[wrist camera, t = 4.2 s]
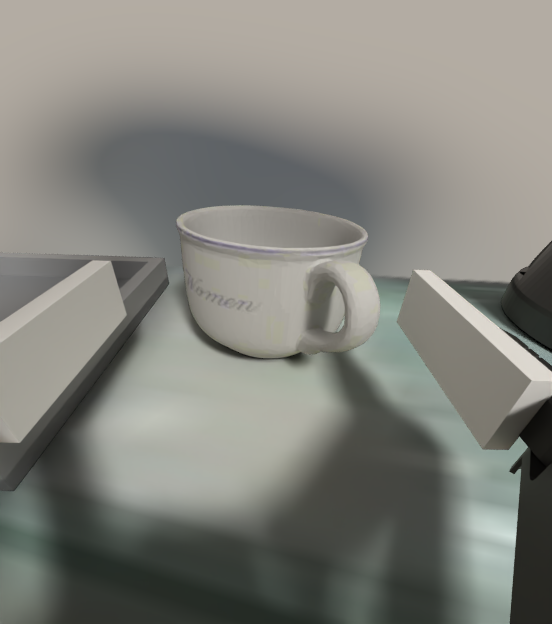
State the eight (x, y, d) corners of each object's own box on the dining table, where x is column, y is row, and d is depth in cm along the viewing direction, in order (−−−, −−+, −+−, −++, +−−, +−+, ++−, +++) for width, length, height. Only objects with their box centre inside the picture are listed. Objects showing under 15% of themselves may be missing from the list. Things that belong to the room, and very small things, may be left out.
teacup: (191, 301, 23) (177, 200, 19) (311, 289, 26) (322, 198, 22) (199, 457, 12) (168, 293, 8) (410, 407, 15) (472, 265, 11)
